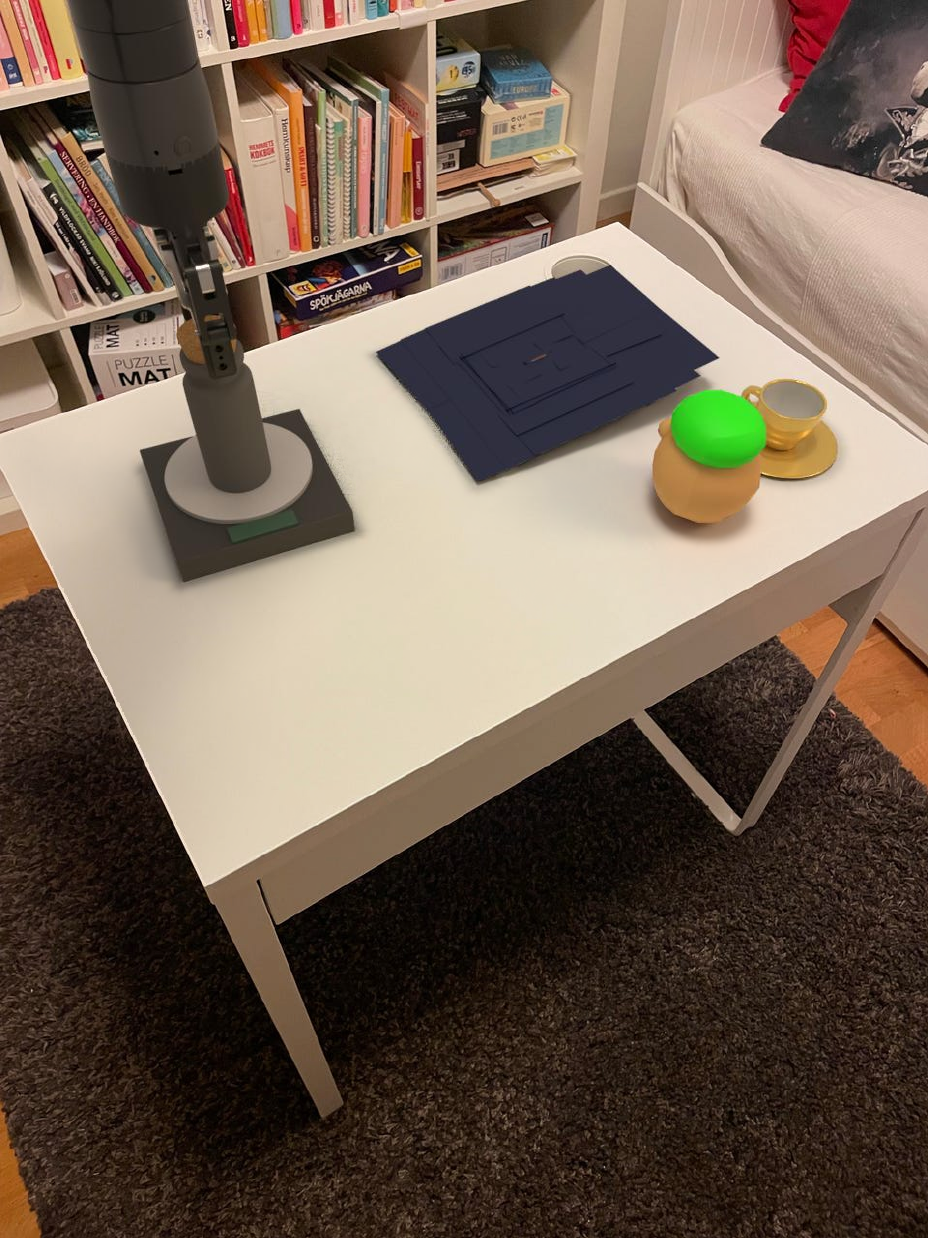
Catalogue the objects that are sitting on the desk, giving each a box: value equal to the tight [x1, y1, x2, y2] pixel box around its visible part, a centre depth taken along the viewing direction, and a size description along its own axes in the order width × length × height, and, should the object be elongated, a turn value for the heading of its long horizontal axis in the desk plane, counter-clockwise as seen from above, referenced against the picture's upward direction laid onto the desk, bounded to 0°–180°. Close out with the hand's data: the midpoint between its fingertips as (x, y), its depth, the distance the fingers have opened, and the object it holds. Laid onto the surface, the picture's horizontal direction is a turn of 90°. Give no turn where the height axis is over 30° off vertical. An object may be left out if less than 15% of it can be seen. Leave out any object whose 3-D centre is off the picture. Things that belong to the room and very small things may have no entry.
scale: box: [139, 408, 355, 582], centre depth 84 cm, size 16×16×3 cm
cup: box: [740, 378, 839, 479], centre depth 89 cm, size 12×12×5 cm
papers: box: [375, 264, 720, 482], centre depth 97 cm, size 24×30×4 cm
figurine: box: [651, 389, 766, 524], centre depth 81 cm, size 11×10×12 cm
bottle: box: [175, 314, 271, 493], centre depth 77 cm, size 6×6×15 cm
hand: (209, 345), depth 72 cm, fingers open, 8 cm apart
